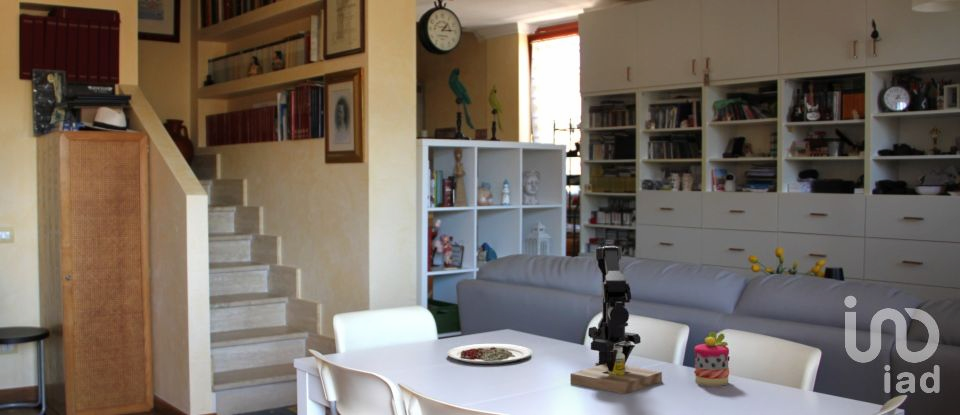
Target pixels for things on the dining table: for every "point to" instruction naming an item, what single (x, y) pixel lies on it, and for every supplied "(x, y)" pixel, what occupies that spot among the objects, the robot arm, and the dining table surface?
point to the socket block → (616, 378)
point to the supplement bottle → (618, 363)
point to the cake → (712, 361)
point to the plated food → (489, 353)
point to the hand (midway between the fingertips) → (616, 369)
